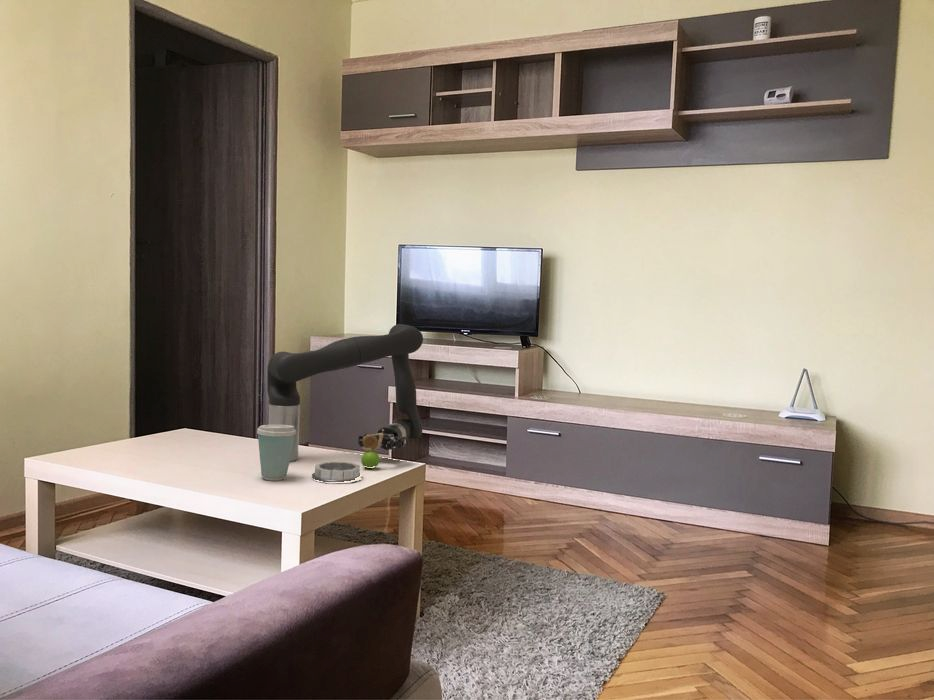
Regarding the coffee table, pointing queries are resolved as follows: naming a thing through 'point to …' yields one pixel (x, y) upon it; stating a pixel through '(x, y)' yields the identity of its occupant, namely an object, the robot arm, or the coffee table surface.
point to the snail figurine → (371, 450)
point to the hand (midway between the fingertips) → (374, 444)
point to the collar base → (336, 471)
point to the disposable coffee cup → (275, 450)
